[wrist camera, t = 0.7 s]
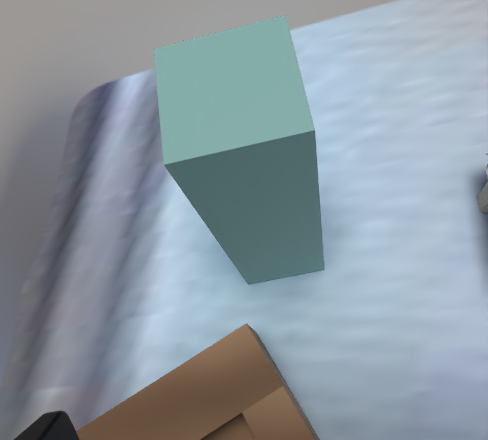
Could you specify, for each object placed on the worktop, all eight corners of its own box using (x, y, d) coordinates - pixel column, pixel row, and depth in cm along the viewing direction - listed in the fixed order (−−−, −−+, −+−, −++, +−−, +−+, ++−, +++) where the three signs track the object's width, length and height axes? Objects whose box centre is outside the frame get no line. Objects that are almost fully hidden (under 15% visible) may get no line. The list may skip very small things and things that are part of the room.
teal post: (324, 269, 23) (314, 130, 12) (248, 284, 24) (163, 164, 12) (308, 200, 25) (285, 15, 13) (237, 215, 25) (153, 48, 14)
